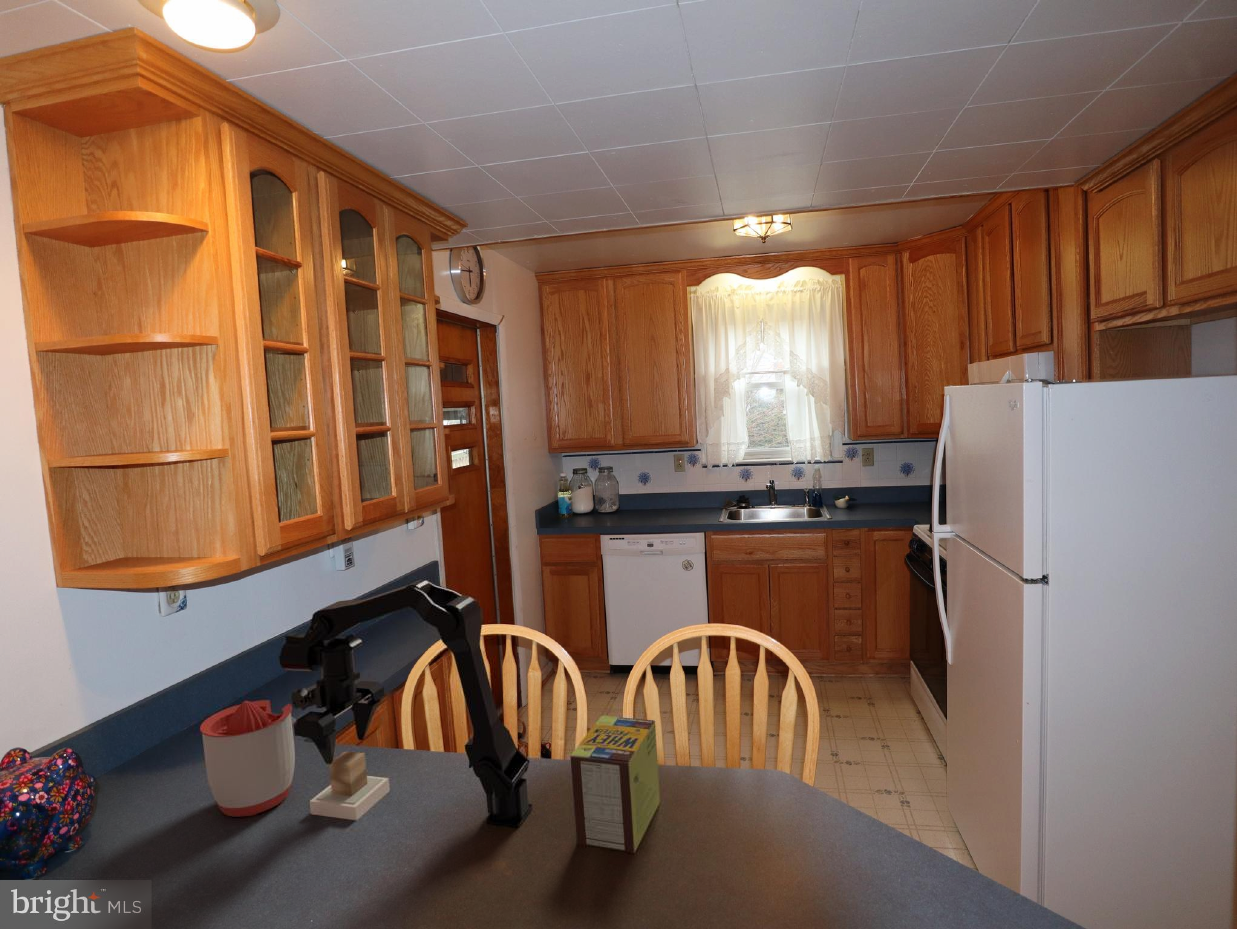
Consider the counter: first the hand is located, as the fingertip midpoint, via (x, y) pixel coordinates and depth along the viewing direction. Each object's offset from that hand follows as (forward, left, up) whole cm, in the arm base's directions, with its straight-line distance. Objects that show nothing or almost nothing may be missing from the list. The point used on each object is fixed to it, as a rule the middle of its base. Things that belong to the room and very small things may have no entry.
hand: (345, 751), depth 133 cm
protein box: (-52, -4, -10) cm, 53 cm away
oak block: (0, 0, -7) cm, 7 cm away
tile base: (0, 0, -10) cm, 10 cm away
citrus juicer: (+19, +3, -10) cm, 22 cm away
